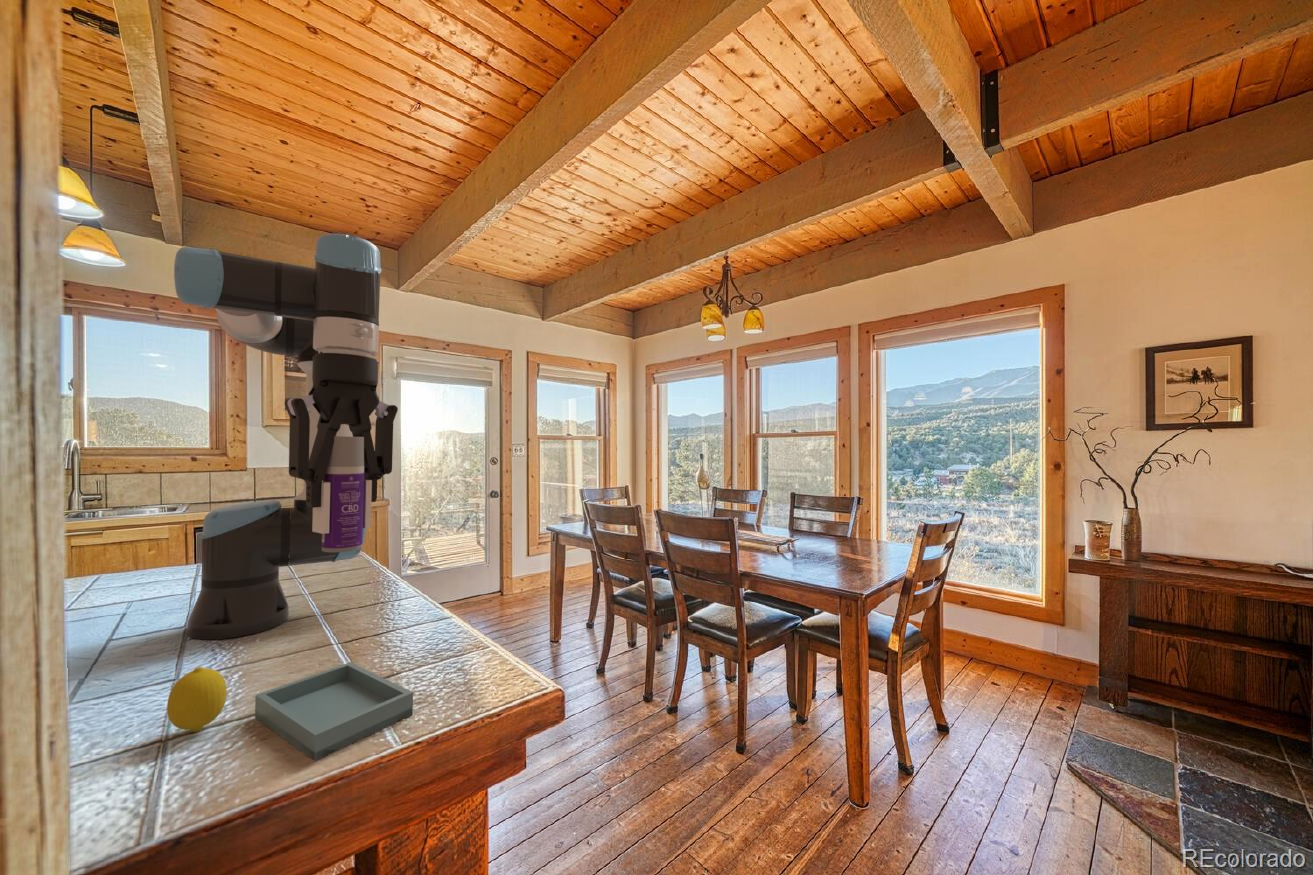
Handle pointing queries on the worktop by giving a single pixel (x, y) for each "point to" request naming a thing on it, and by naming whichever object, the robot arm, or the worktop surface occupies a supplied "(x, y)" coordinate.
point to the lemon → (197, 699)
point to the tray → (332, 709)
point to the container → (345, 495)
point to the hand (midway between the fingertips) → (342, 529)
